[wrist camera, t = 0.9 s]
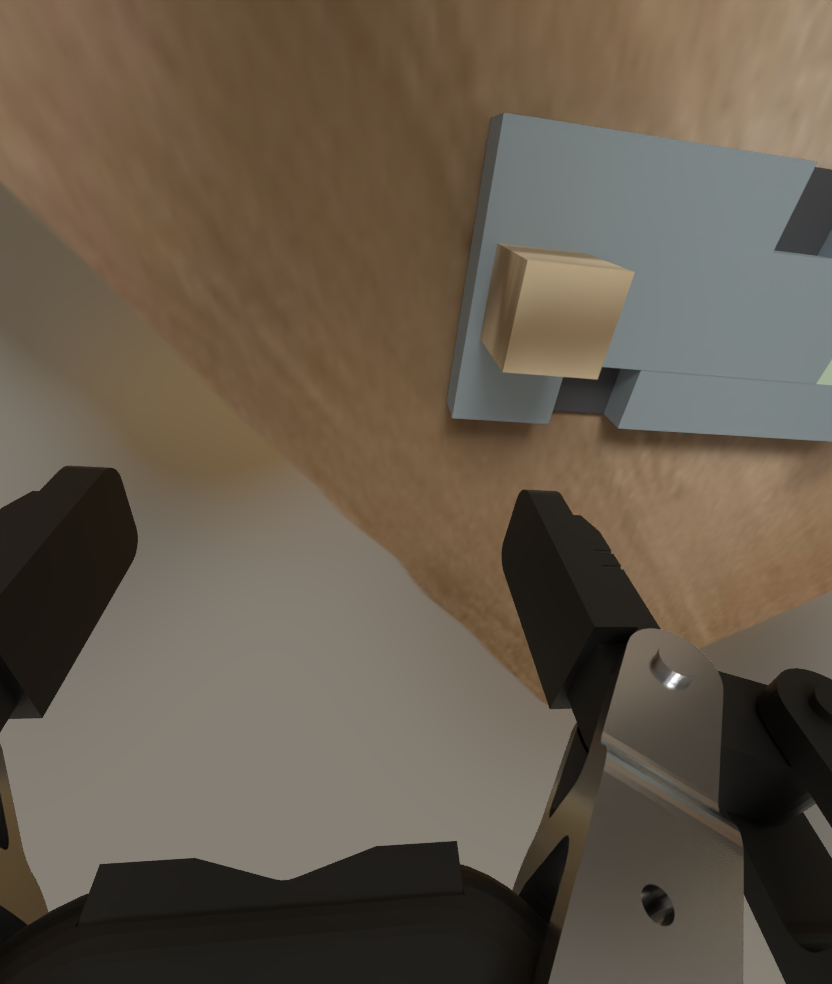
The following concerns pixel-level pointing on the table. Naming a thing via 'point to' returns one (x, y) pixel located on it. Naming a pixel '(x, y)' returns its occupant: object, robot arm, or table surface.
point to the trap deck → (663, 280)
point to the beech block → (552, 311)
